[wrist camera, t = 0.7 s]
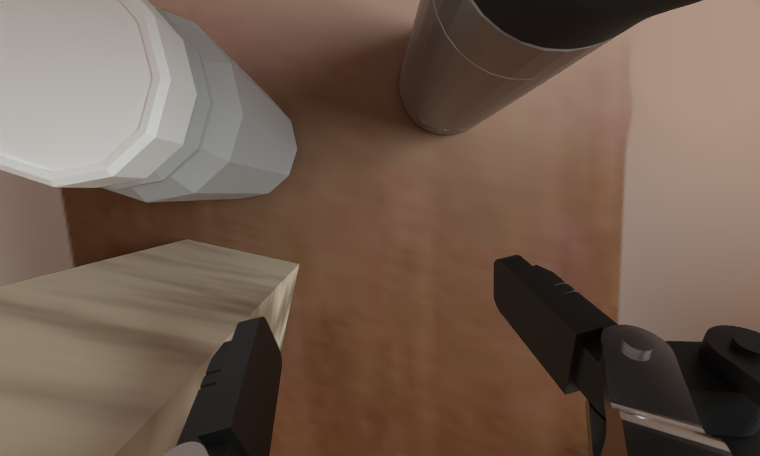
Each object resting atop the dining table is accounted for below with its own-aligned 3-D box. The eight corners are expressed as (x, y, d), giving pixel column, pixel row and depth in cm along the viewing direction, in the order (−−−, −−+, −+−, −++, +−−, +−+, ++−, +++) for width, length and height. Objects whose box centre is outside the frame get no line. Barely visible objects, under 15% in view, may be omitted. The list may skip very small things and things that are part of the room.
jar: (269, 74, 28) (91, -143, 10) (317, 171, 29) (238, 134, 11) (175, 121, 28) (-171, -10, 10) (227, 215, 29) (1, 250, 11)
